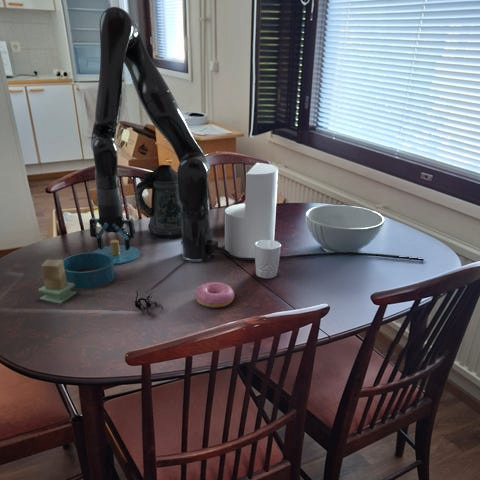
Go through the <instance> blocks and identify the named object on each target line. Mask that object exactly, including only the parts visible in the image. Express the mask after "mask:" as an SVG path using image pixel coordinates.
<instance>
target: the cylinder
mask: <svg viewBox="0 0 480 480" xmlns="http://www.w3.org/2000/svg"><path fill="white" fill-rule="evenodd" d="M278 179H279V168H278V167H277V166H276V165H273V164H270V163H264V162H256V163H255V164H254V165H253V166H252V167H251V168H250V169H249V170H248V171H247V172H246V173H245V192H246V195H244V196H245V197H244V198H245V199H244V201H245V204H242V203H238V204H237V203H236V204H232V205H229V206H227V207H226V208H225V209H224V249H225V250H227V251H228V252H229V253H230V254H231V255H233V256H236V257H241V258H255V243H256V242H257V241H260V240H274V241H275V232H276V231H275V230H276V215H277V214H276V213H277V197H278V182H279V181H278Z"/></svg>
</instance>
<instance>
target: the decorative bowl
mask: <svg viewBox="0 0 480 480" xmlns="http://www.w3.org/2000/svg"><path fill="white" fill-rule="evenodd" d="M304 216H305V217H304V218H305V223H306V225H307V229H308V231H309V234H310V235H311V236H312V238H313V239H314V240H315V241H316V242H317V243H318V244H319V245H320V246H322V249H323V250H324V251H325V252H326V253H335V252H341V253H348V252H352V253H358V251H359V250H361V249H363V248H365V247H367V246H368V245H369V244H370V243H372V241H374V239H375V238H376V237H377V236H378V235H379V233H380V232H381V230H382V228H383V226H384V223H385V218H384V216H383V215H382V214H380V213H378V212H377V211H375V210H371V209H369V208H365V207H360V206H356V205H346V204H326V205H325V204H324V205H318V206H315V207H312V208H309V209H307V211H305V214H304Z"/></svg>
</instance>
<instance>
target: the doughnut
mask: <svg viewBox="0 0 480 480" xmlns="http://www.w3.org/2000/svg"><path fill="white" fill-rule="evenodd" d="M194 296H195V300H196V301H197V302H198V304H199V305H201V306H203V307H206V308H209V309H219V308H224V307H226V306H228V305H230V304H231V303H232V302H233V301H234V299H235V298H234V297H235V291H234V289H233V287H231V286H230V285H229V284H226V283H224V282H214V281H212V282H206V283H203V284H201V285H200V286H198V287H197V288H196V290H195V292H194Z"/></svg>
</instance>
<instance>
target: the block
mask: <svg viewBox="0 0 480 480" xmlns="http://www.w3.org/2000/svg"><path fill="white" fill-rule="evenodd" d="M40 267H41V272H42V278H43V283H44V285H45V288H46V289H54V290H62V289H63V287H64V286H65V285H66V283H67V281H66V276H65V270H64V264H63V259H46V260H45V261H44V262H43V263H42V264H41V266H40Z"/></svg>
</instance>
